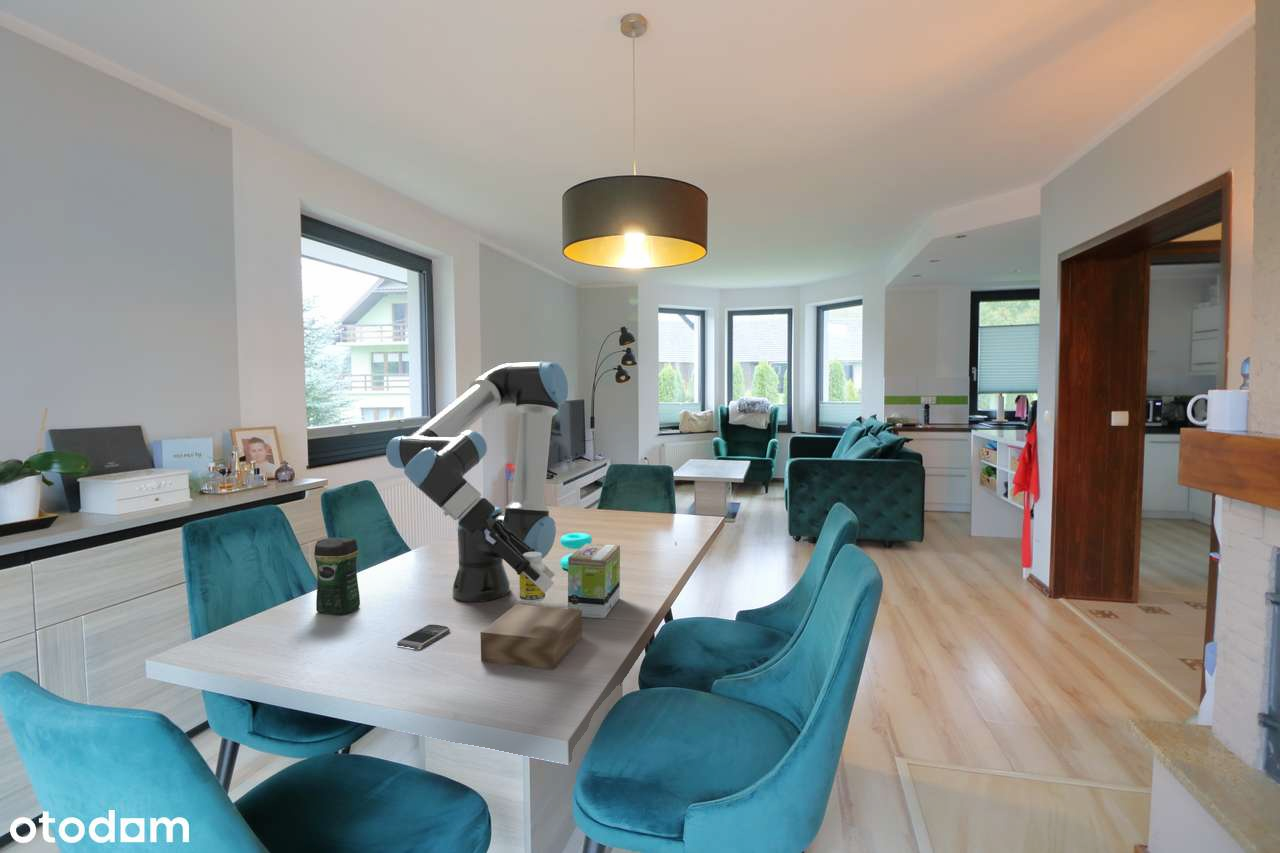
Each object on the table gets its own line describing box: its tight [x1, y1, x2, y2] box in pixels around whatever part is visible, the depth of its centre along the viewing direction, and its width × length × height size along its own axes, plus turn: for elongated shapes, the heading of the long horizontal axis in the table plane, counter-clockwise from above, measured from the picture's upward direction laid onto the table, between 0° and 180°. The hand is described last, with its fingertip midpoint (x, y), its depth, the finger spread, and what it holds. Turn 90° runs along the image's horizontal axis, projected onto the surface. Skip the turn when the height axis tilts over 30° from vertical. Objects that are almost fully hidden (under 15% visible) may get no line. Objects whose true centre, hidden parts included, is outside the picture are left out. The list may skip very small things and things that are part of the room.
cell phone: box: [396, 624, 451, 650], centre depth 128 cm, size 6×11×1 cm, turn 160°
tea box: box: [567, 543, 621, 619], centre depth 146 cm, size 15×10×15 cm
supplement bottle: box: [519, 552, 546, 604], centre depth 121 cm, size 5×5×10 cm
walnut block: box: [480, 603, 583, 670], centre depth 122 cm, size 16×16×6 cm
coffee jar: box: [313, 537, 361, 616], centre depth 145 cm, size 10×8×19 cm
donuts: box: [560, 532, 593, 570], centre depth 181 cm, size 10×10×10 cm
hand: (549, 583), depth 122 cm, fingers closed on supplement bottle, 5 cm apart
